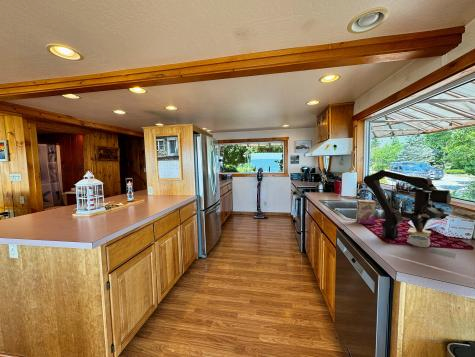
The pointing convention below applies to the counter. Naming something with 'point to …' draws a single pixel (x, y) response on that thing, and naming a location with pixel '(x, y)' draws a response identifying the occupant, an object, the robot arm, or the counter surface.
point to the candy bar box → (365, 212)
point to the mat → (443, 252)
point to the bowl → (419, 240)
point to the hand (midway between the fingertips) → (419, 229)
